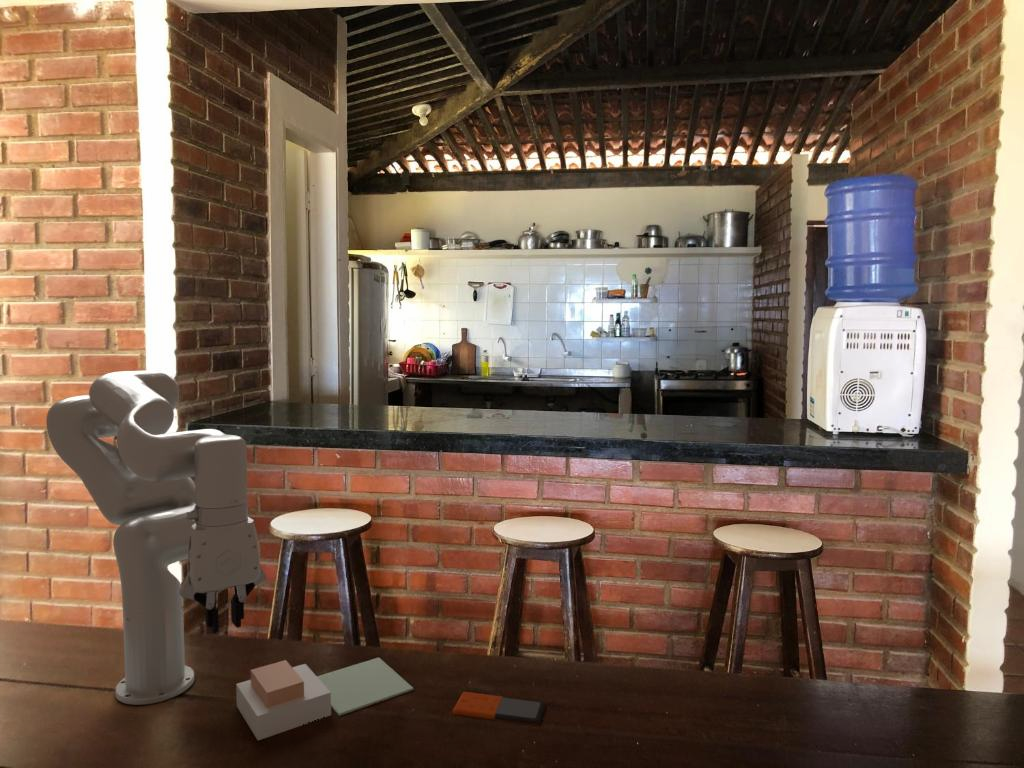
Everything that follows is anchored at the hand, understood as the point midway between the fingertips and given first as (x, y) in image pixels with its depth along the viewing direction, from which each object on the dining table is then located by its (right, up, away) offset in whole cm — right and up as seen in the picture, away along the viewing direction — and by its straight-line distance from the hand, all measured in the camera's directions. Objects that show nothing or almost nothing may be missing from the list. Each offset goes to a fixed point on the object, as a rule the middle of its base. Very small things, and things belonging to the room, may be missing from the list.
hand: (225, 626), depth 108 cm
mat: (+18, -16, +15) cm, 29 cm away
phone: (+44, -18, +8) cm, 48 cm away
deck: (+7, -17, +7) cm, 19 cm away
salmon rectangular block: (+6, -13, +6) cm, 15 cm away
